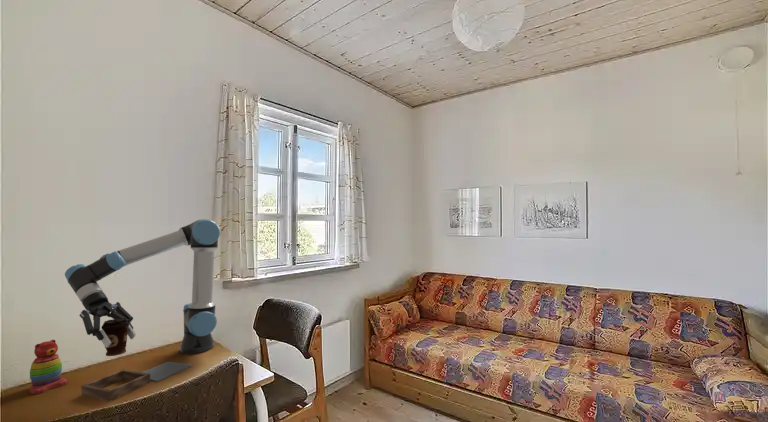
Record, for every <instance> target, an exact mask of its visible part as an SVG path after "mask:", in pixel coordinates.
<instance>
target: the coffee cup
mask: <svg viewBox="0 0 768 422" xmlns="http://www.w3.org/2000/svg"><path fill="white" fill-rule="evenodd" d="M128 326H129V322H128V321H127V319H126V318H120V319H113V318H112V319H108V320H105V321H104V322H103V324H102V325H101V326H100V329H101V330H102V329H103V330H104V332H105V333H106V335H107V336H108V338H109V339H110V341H111V344H110V345H109V347H107V348H106V347H105V346H104V348H105V350H106V353H105V356H106V357H116V356H121V355H123V354H126V353H127V350H126V349H127V348H126V347H127V342H128V333H127V329H128Z"/></svg>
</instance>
